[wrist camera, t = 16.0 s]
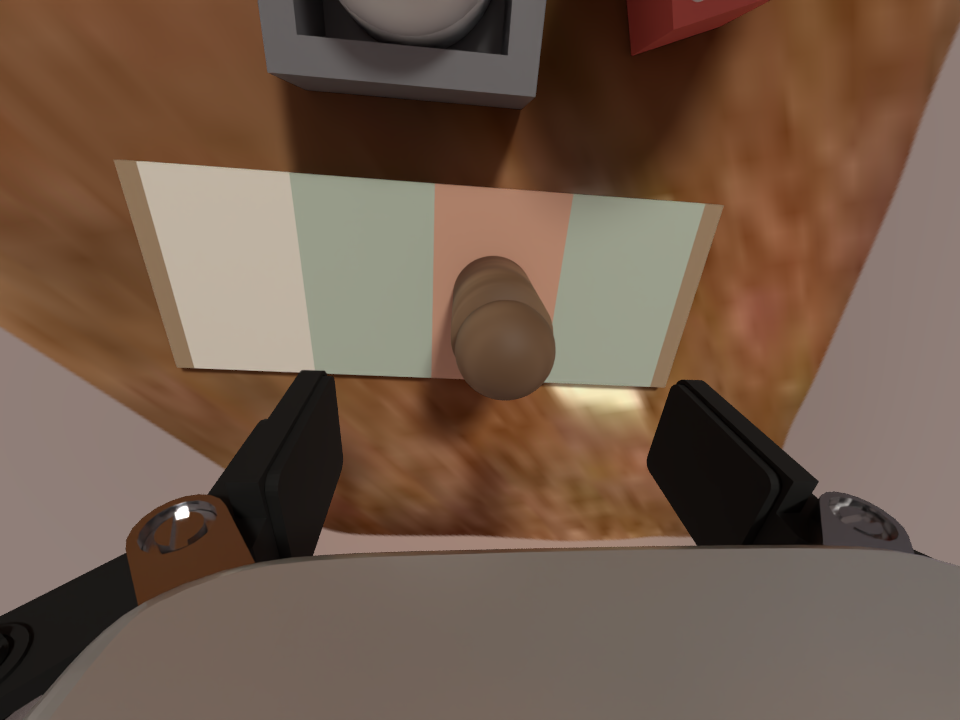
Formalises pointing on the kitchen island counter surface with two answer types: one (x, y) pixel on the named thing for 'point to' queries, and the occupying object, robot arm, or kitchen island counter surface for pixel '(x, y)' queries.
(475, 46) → the base
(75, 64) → the kitchen island counter surface
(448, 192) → the game board
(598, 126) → the kitchen island counter surface
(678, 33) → the red die
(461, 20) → the dome
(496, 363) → the walnut pawn
